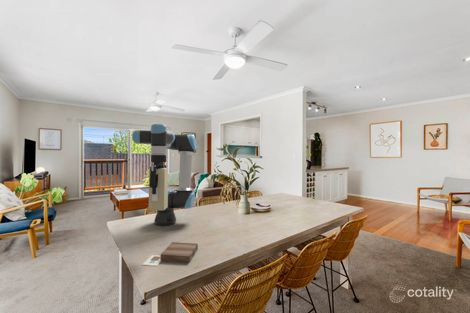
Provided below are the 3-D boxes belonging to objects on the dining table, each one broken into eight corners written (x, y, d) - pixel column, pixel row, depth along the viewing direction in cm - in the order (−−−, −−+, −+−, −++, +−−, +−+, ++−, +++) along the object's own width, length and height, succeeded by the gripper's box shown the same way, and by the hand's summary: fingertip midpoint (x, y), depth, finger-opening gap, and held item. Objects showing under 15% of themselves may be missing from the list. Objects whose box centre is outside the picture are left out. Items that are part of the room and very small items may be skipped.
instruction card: (151, 255, 105) (151, 254, 105) (165, 256, 104) (165, 255, 104) (142, 265, 96) (142, 264, 96) (157, 266, 95) (157, 265, 95)
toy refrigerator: (168, 206, 114) (168, 167, 114) (164, 210, 107) (164, 168, 106) (153, 206, 114) (153, 167, 113) (148, 210, 107) (148, 168, 106)
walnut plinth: (172, 247, 114) (172, 242, 114) (197, 249, 112) (197, 243, 112) (160, 260, 100) (160, 254, 100) (189, 262, 99) (189, 256, 98)
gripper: (160, 154, 120) (160, 194, 120) (141, 154, 100) (141, 203, 100) (173, 154, 119) (173, 195, 119) (156, 154, 99) (156, 203, 100)
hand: (158, 198), depth 110 cm, fingers closed on toy refrigerator, 7 cm apart
